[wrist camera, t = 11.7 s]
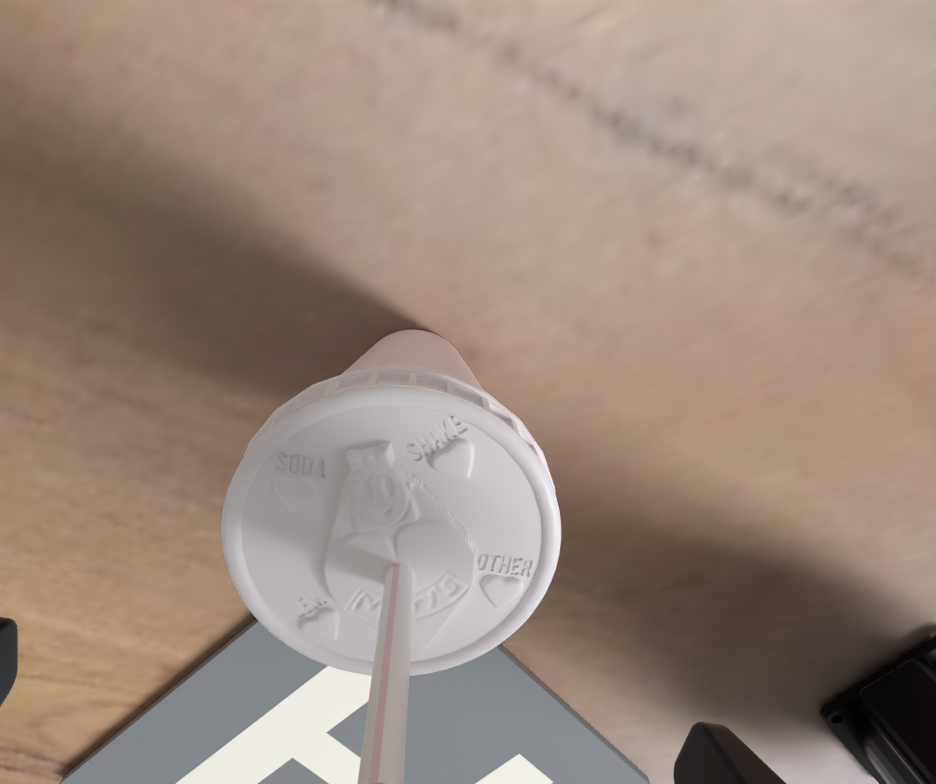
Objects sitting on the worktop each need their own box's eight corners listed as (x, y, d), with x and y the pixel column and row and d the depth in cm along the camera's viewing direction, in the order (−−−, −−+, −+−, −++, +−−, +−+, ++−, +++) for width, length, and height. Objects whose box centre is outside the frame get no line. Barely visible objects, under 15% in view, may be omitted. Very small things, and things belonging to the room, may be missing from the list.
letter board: (647, 776, 27) (650, 785, 26) (363, 958, 30) (362, 968, 30) (369, 525, 22) (368, 531, 21) (64, 775, 25) (58, 785, 25)
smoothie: (346, 483, 21) (194, 980, 8) (294, 309, 19) (-37, 593, 6) (521, 447, 21) (665, 892, 8) (488, 269, 19) (610, 463, 6)
